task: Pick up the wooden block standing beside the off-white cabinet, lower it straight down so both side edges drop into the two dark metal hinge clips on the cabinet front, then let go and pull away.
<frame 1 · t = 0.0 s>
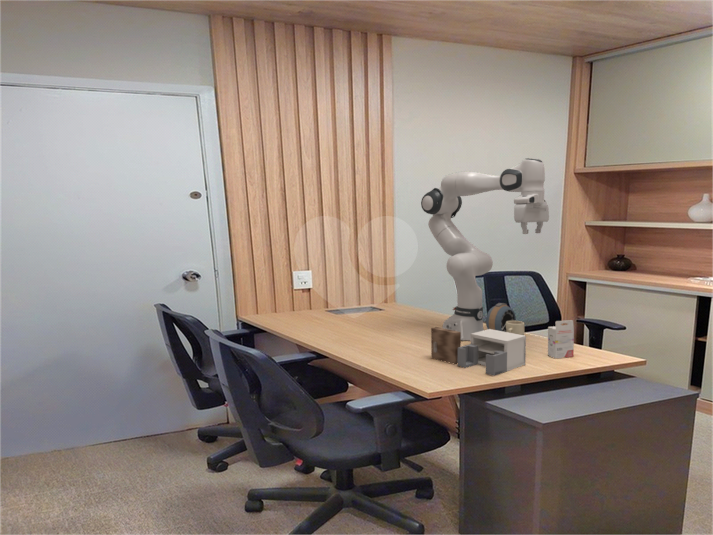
hand: (531, 233, 206), 48 cm above the table, tool pointing down, fingers open, 8 cm apart
wooden block: (445, 360, 197), on the table
cabinet: (494, 364, 191), on the table
character mug: (514, 354, 205), on the table
alarm clock: (500, 343, 223), on the table
ink cartridge box: (560, 356, 201), on the table
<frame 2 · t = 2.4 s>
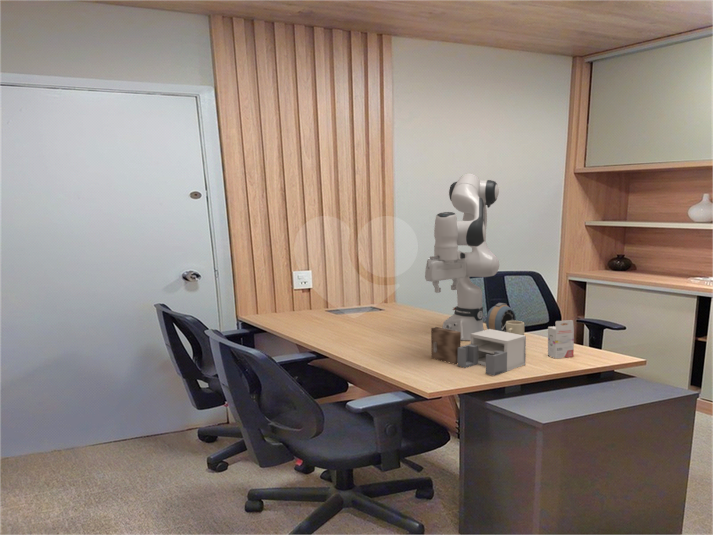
hand: (445, 291, 195), 27 cm above the table, tool pointing down, fingers open, 8 cm apart
nothing on the table moved.
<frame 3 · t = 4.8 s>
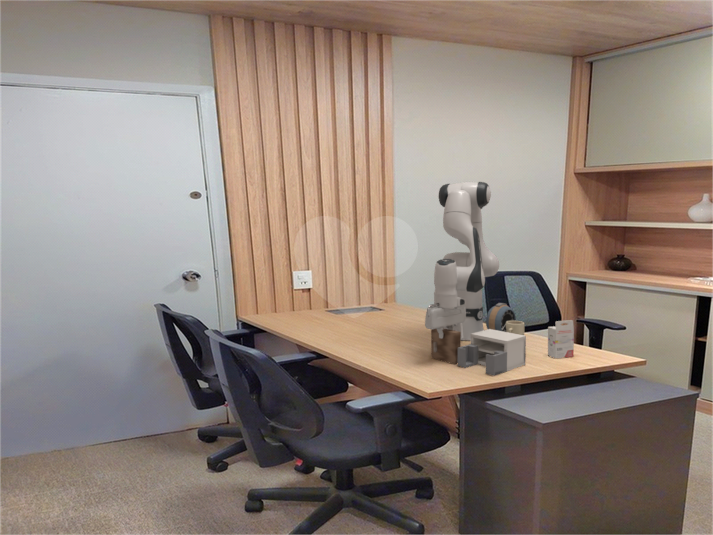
hand: (445, 337, 197), 9 cm above the table, tool pointing down, fingers closed on wooden block, 3 cm apart
wooden block: (445, 360, 197), on the table, touching gripper
everything else where it was.
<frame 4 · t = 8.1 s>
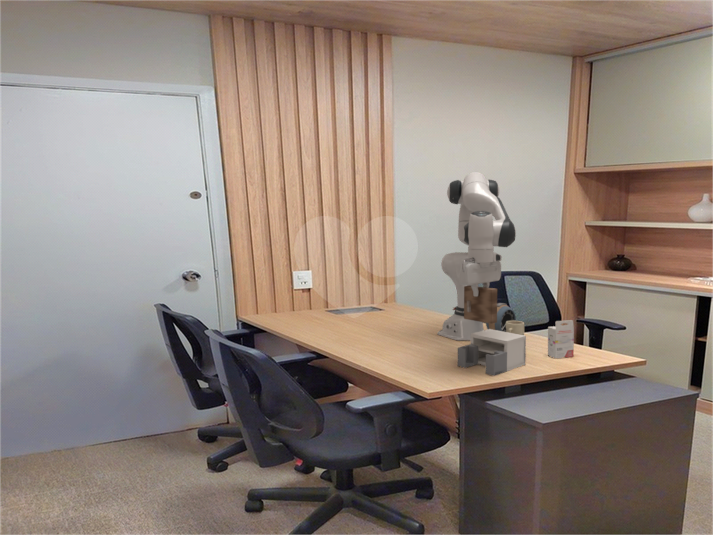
hand: (480, 295, 183), 27 cm above the table, tool pointing down, fingers closed on wooden block, 3 cm apart
wooden block: (480, 320, 184), point 18 cm above the table, touching gripper
everything else where it was.
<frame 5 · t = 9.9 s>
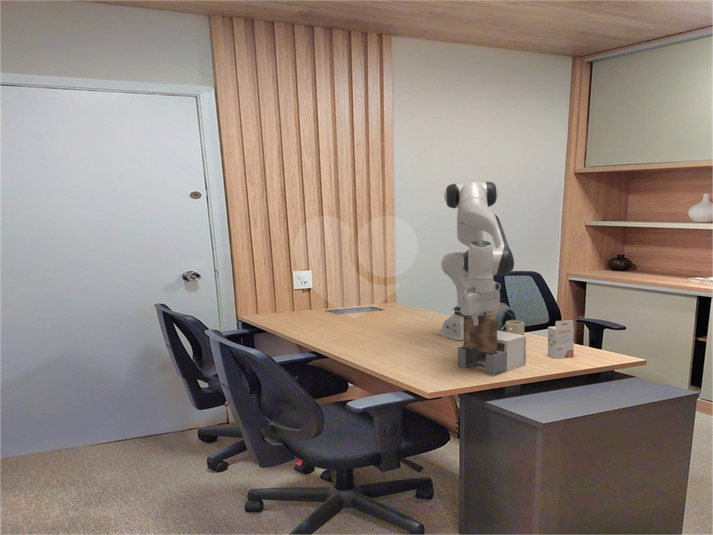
hand: (480, 324, 184), 17 cm above the table, tool pointing down, fingers closed on wooden block, 3 cm apart
wooden block: (479, 349, 185), point 7 cm above the table, touching gripper
everything else where it was.
when the fingers open (11 cm above the table, at t = 11.4 s): wooden block stays where it is, resting on cabinet.
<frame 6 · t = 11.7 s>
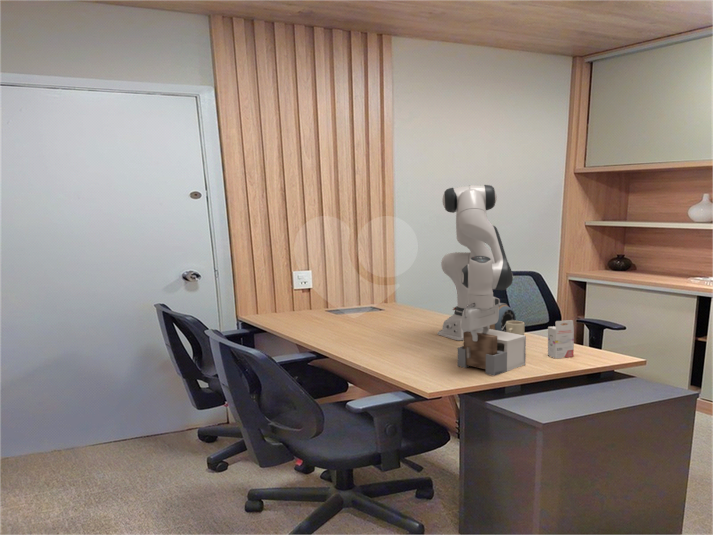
hand: (480, 339, 184), 11 cm above the table, tool pointing down, fingers open, 5 cm apart
wooden block: (479, 366, 185), point 1 cm above the table, touching cabinet
everything else where it was.
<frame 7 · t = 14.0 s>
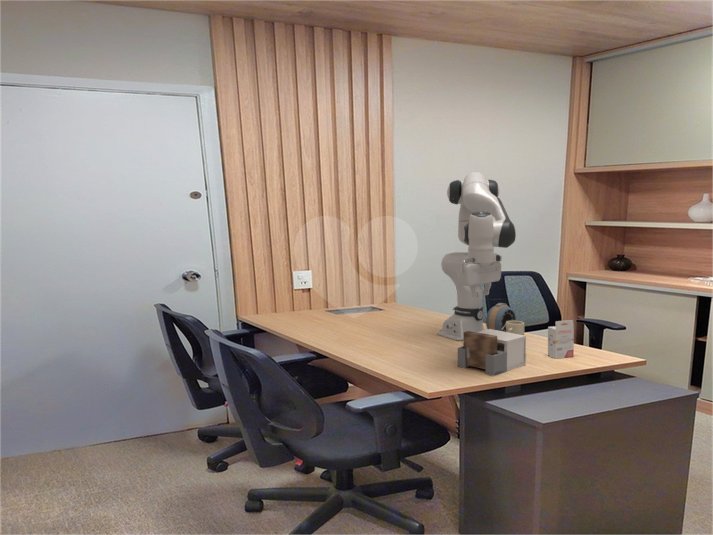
hand: (480, 296, 183), 27 cm above the table, tool pointing down, fingers open, 5 cm apart
nothing on the table moved.
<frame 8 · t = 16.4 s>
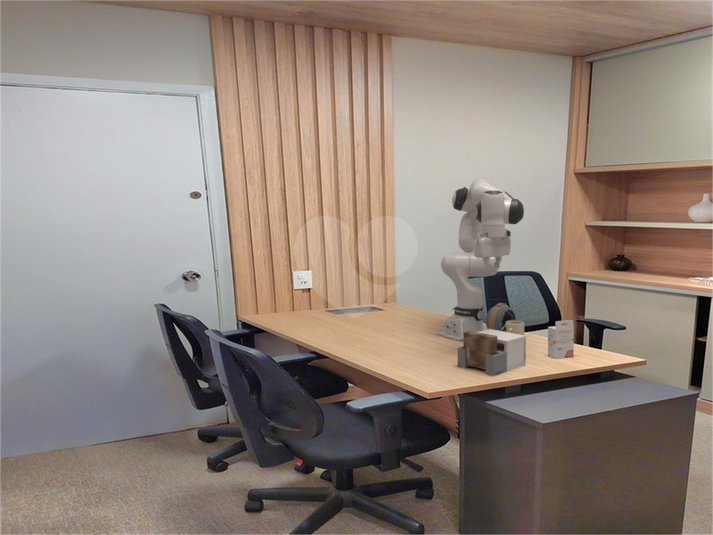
hand: (492, 268, 198), 35 cm above the table, tool pointing down, fingers open, 5 cm apart
nothing on the table moved.
at the end: wooden block 0.1 cm from the target spot on the cabinet, point 1.0 cm above the cabinet's base; wooden block tilted 0°; the gripper is holding nothing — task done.
